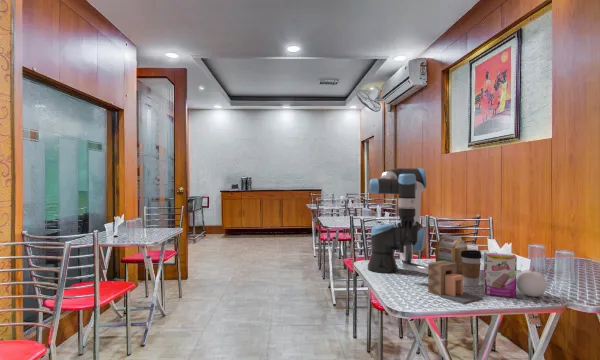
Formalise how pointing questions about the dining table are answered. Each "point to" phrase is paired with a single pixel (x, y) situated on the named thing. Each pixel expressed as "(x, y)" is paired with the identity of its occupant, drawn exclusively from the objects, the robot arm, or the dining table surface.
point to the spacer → (453, 284)
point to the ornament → (531, 282)
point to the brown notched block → (439, 275)
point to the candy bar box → (500, 274)
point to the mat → (462, 298)
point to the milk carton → (450, 250)
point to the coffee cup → (471, 267)
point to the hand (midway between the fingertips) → (406, 259)
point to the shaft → (412, 266)
